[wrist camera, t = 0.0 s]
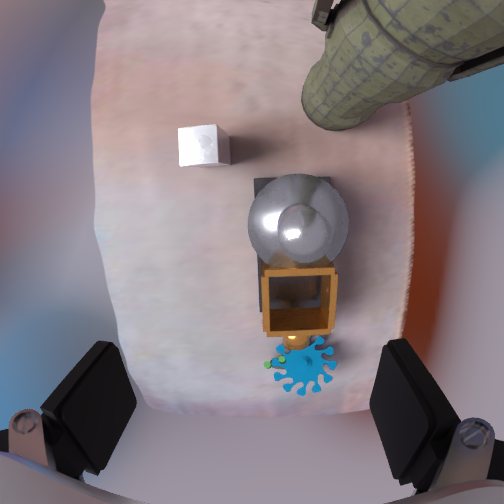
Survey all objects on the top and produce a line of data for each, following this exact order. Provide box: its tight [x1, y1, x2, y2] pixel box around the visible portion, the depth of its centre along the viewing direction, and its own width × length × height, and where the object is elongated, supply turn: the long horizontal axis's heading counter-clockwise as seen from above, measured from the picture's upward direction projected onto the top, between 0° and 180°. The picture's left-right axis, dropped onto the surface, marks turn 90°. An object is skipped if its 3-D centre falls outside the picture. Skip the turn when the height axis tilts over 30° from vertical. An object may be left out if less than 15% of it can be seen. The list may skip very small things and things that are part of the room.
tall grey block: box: [178, 124, 231, 167], centre depth 32 cm, size 4×4×10 cm
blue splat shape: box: [264, 335, 337, 396], centre depth 42 cm, size 11×6×10 cm
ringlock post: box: [248, 174, 349, 350], centre depth 33 cm, size 22×11×14 cm, turn 3°
